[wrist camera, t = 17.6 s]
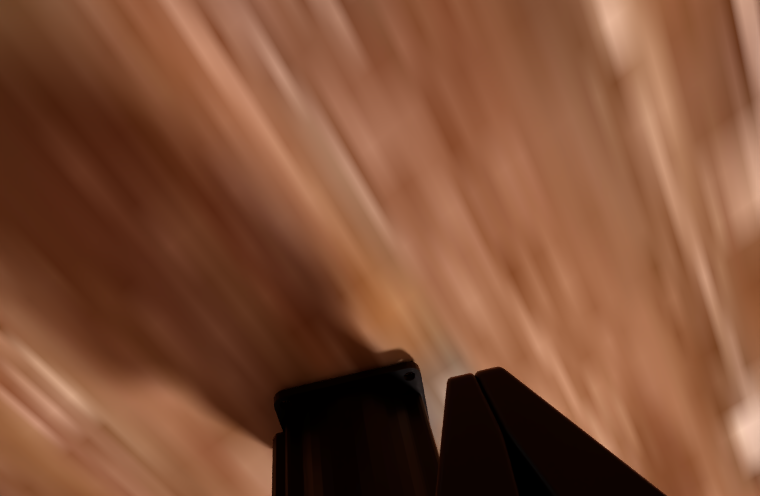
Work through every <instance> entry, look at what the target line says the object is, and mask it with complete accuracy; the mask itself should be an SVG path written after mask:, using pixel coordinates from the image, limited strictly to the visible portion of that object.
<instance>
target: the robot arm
mask: <svg viewBox="0 0 760 496" xmlns="http://www.w3.org/2000/svg"><path fill="white" fill-rule="evenodd" d="M408 372H412V373H411V374H408V375H406V373H408ZM283 401H290V402H287V403H284V402H283ZM274 408H275V411H276V413H277V416H278V419H279V421H280V424H281V427H282V429H283V432H281V433H277V434H276V435H275V437H274V438H273V464H272V496H667V495H665V494H664V493H663V492H661V491H660V490H659V489H658V488H656V487H655V486H654V485H652V484H651V483H650V482H649V481H647V480H646V479H645V478H643V477H642V476H641V475H640V474H638V473H637V472H636V471H635V470H633V469H632V468H631V467H629V466H628V465H627V464H626V463H624V462H623V461H622V460H620V459H619V458H618V457H617V456H615V455H614V454H613V453H611V452H610V451H609V450H608V449H606V448H605V447H604V446H602V445H601V444H600V443H599V442H597V441H596V440H595V439H594V438H592V437H591V436H590V435H588V434H587V433H586V432H585V431H583V430H582V429H581V428H579V427H578V426H577V425H576V424H574V423H573V422H572V421H570V420H569V419H568V418H567V417H565V416H564V415H563V414H561V413H560V412H559V411H558V410H556V409H555V408H554V407H553V406H551V405H550V404H549V403H547V402H546V401H545V400H544V399H542V398H541V397H540V396H538V395H537V394H536V393H535V392H533V391H532V390H531V389H529V388H528V387H527V386H526V385H524V384H523V383H522V382H520V381H519V380H518V379H517V378H515V377H514V376H513V375H512V374H510V373H509V372H508V371H506V370H505V369H504V368H502V367H494V368H490V369H485V370H481V371H478V372H477V373H476V374H475V376H474V375H473V374H472V373H468V374H464V375H459V376H455V377H451V378H449V379H448V381H447V388H446V398H445V407H444V417H443V427H442V437H441V447H440V457H439V454H438V450H437V447H436V443H435V440H434V436H433V433H432V429H431V426H430V422H429V417H428V411H427V406H426V400H425V394H424V389H423V383H422V377H421V373H420V369H419V367H418V365H417V364H416V363H415V362H411V361H410V362H403V363H399V364H395V365H390V366H386V367H382V368H377V369H373V370H369V371H364V372H360V373H355V374H351V375H347V376H342V377H338V378H334V379H329V380H325V381H321V382H316V383H312V384H308V385H303V386H299V387H295V388H290V389H286V390H282V391H280V392H278V393H277V394H276V395H275V397H274Z"/></svg>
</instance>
